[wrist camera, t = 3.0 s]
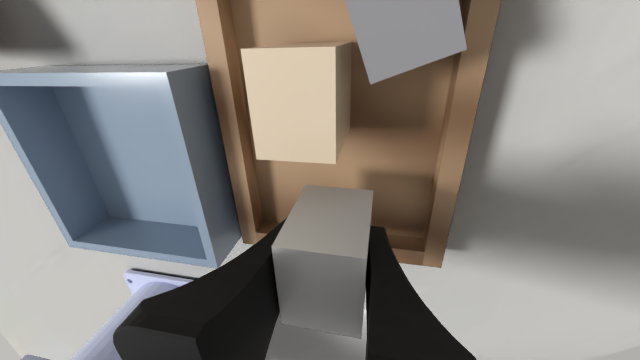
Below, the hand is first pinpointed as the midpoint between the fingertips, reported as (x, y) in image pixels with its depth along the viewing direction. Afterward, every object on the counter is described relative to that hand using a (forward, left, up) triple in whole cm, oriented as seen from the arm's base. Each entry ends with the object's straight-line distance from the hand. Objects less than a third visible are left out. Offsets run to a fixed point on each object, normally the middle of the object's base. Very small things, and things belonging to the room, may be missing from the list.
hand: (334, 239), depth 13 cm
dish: (+2, +13, -4) cm, 14 cm away
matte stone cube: (+9, -2, -4) cm, 10 cm away
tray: (+5, 0, -4) cm, 6 cm away
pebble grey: (0, 0, -1) cm, 1 cm away
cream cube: (+6, +1, -4) cm, 7 cm away
